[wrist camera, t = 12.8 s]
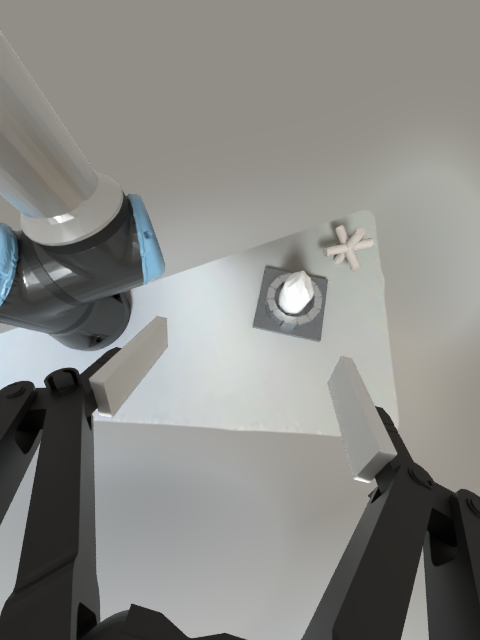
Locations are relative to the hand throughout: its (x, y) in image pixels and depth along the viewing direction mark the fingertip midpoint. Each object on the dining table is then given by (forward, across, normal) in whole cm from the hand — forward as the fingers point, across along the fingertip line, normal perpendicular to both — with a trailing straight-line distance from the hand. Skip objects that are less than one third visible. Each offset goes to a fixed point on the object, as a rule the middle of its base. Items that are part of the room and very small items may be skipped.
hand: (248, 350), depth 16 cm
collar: (+31, +7, -8) cm, 33 cm away
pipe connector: (+40, +16, 0) cm, 43 cm away
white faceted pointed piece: (+30, +7, -8) cm, 32 cm away
